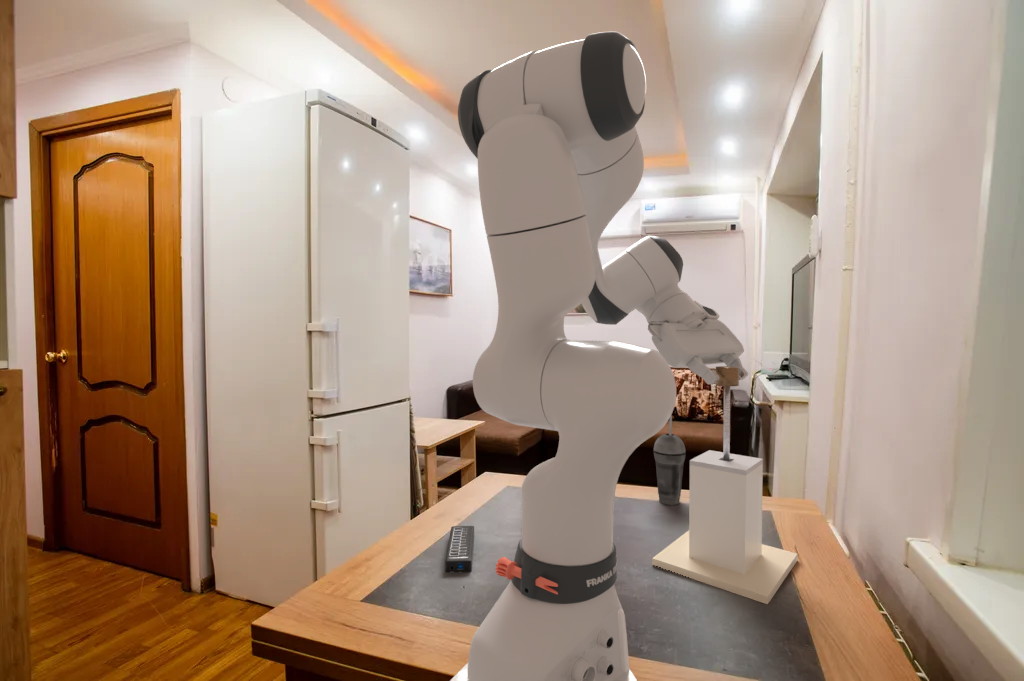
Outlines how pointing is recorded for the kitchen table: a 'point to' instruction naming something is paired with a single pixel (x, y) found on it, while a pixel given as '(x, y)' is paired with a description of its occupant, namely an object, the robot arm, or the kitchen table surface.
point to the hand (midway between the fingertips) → (729, 379)
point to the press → (727, 530)
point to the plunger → (727, 402)
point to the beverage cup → (669, 466)
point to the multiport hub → (460, 549)
